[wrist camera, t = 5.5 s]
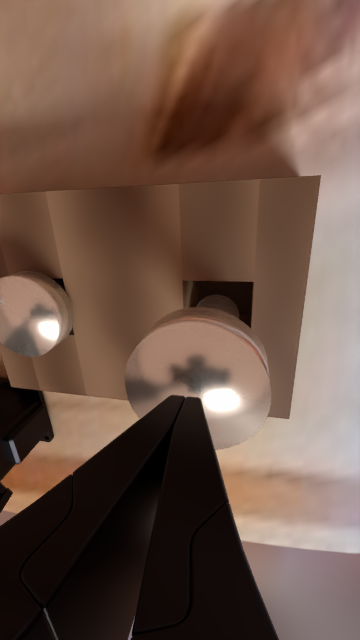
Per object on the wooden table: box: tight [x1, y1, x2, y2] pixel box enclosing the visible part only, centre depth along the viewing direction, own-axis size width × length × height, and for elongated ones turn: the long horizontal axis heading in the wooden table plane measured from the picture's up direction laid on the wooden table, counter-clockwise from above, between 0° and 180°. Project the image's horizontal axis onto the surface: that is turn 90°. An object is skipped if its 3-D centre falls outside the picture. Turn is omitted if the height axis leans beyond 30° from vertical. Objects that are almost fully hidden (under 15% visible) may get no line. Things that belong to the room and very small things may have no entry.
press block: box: [0, 175, 321, 419], centre depth 18 cm, size 18×12×4 cm, turn 94°
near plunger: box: [124, 294, 271, 450], centre depth 11 cm, size 4×4×6 cm
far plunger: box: [0, 271, 74, 357], centre depth 18 cm, size 4×4×6 cm
